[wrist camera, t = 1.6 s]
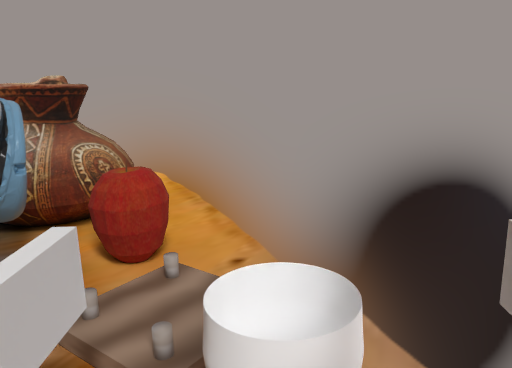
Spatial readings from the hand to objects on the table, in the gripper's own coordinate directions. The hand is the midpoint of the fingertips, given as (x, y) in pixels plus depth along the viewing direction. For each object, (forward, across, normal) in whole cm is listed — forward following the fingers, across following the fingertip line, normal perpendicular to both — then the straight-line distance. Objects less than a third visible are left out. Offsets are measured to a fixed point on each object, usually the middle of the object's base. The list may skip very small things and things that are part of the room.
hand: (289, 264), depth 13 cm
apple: (+43, -19, -18) cm, 50 cm away
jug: (+64, -41, -18) cm, 78 cm away
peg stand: (+26, -11, -18) cm, 33 cm away
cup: (+10, 0, -18) cm, 21 cm away
